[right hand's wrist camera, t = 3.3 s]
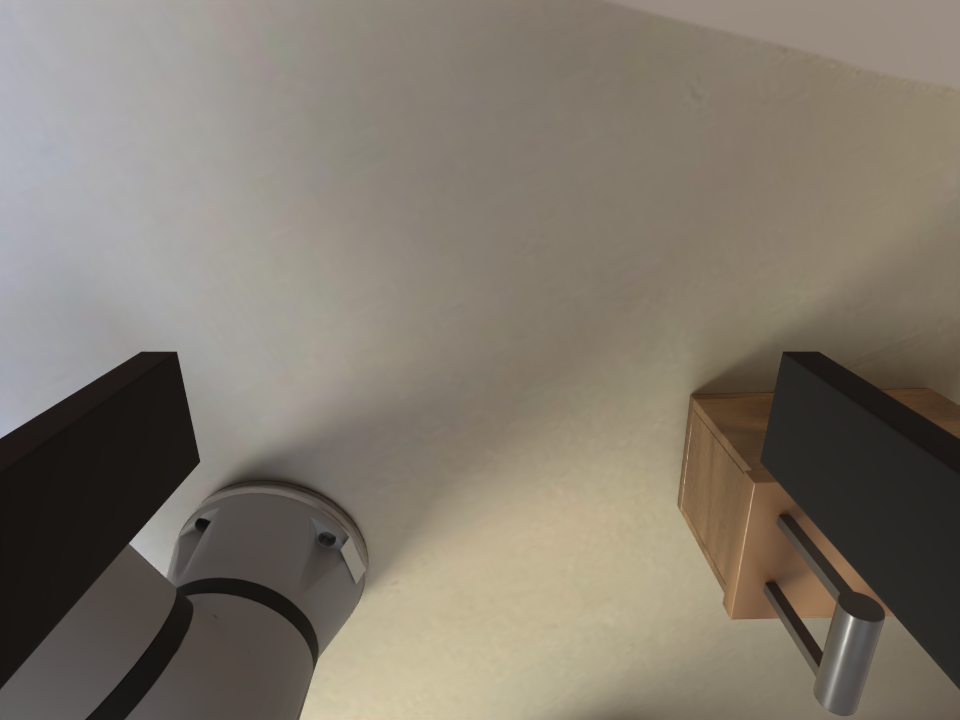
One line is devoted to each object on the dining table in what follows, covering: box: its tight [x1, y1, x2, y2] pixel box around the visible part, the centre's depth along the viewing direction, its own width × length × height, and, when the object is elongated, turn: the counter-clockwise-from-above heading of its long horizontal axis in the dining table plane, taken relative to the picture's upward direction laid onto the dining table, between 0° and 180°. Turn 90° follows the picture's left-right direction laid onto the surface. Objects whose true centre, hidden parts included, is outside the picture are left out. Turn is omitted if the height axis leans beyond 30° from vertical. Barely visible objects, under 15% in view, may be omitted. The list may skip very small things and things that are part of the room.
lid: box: [723, 470, 895, 716], centre depth 29 cm, size 18×10×9 cm, turn 92°
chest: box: [678, 388, 960, 593], centre depth 38 cm, size 17×10×10 cm, turn 92°
